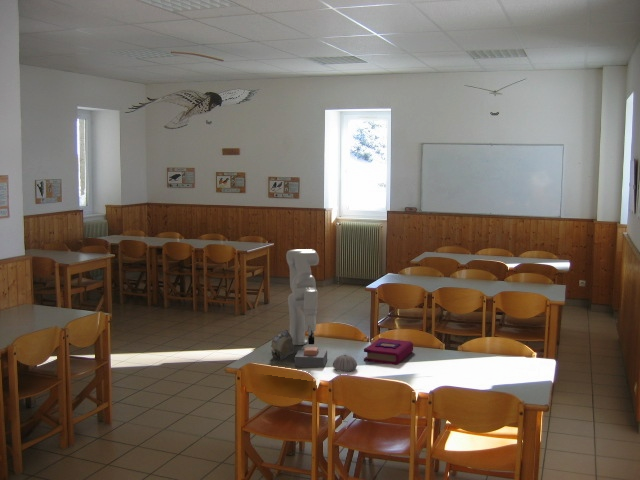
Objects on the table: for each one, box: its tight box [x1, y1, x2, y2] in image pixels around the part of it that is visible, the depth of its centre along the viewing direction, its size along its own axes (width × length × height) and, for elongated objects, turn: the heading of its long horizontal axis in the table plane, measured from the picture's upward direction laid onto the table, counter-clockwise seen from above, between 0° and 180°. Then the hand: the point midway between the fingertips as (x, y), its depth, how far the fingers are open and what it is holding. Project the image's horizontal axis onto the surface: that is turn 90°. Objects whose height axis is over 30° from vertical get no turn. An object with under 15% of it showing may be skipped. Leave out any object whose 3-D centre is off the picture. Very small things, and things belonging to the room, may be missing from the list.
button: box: [304, 346, 319, 355], centre depth 375 cm, size 7×7×3 cm
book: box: [363, 337, 414, 366], centre depth 386 cm, size 21×28×8 cm
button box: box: [294, 348, 328, 368], centre depth 375 cm, size 16×16×6 cm
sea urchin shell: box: [332, 354, 358, 373], centre depth 363 cm, size 13×14×8 cm
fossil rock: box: [270, 329, 295, 361], centre depth 388 cm, size 21×10×15 cm, turn 157°
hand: (311, 344), depth 374 cm, fingers closed
